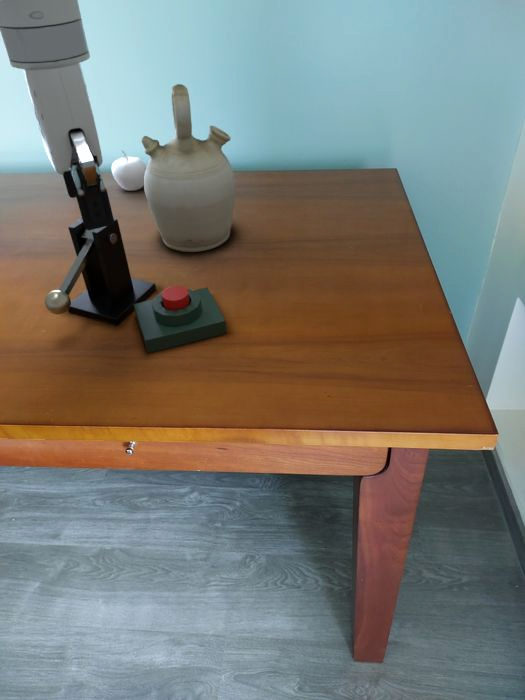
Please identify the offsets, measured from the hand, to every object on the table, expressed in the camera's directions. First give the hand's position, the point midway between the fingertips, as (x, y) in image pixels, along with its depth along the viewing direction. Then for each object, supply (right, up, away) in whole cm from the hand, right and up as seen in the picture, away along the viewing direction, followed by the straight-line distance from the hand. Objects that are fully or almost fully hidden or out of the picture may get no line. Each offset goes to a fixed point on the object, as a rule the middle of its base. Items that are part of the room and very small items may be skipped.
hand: (90, 209), depth 62 cm
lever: (-5, -6, +11) cm, 13 cm away
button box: (+9, -13, +13) cm, 20 cm away
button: (+8, -10, +10) cm, 17 cm away
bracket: (-2, -9, +18) cm, 20 cm away
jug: (+8, +4, +33) cm, 35 cm away
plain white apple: (-8, +18, +51) cm, 55 cm away
